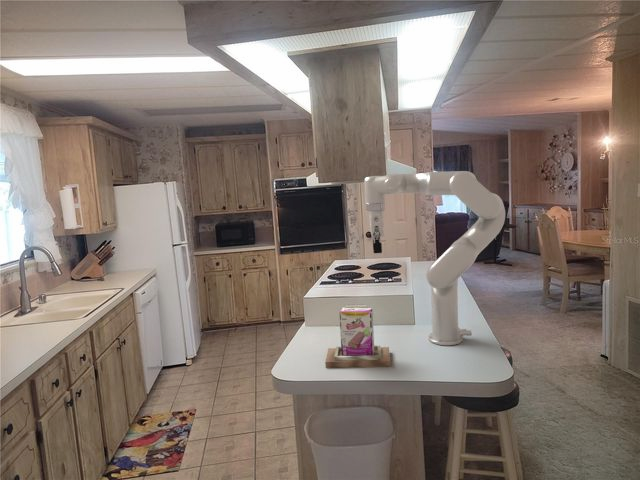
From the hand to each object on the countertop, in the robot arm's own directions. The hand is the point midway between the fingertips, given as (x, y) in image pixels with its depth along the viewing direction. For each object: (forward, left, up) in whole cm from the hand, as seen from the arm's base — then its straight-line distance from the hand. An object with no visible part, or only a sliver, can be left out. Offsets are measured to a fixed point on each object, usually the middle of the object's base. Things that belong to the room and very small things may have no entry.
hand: (377, 250), depth 171 cm
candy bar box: (+9, +25, -32) cm, 42 cm away
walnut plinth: (+9, +25, -34) cm, 43 cm away
